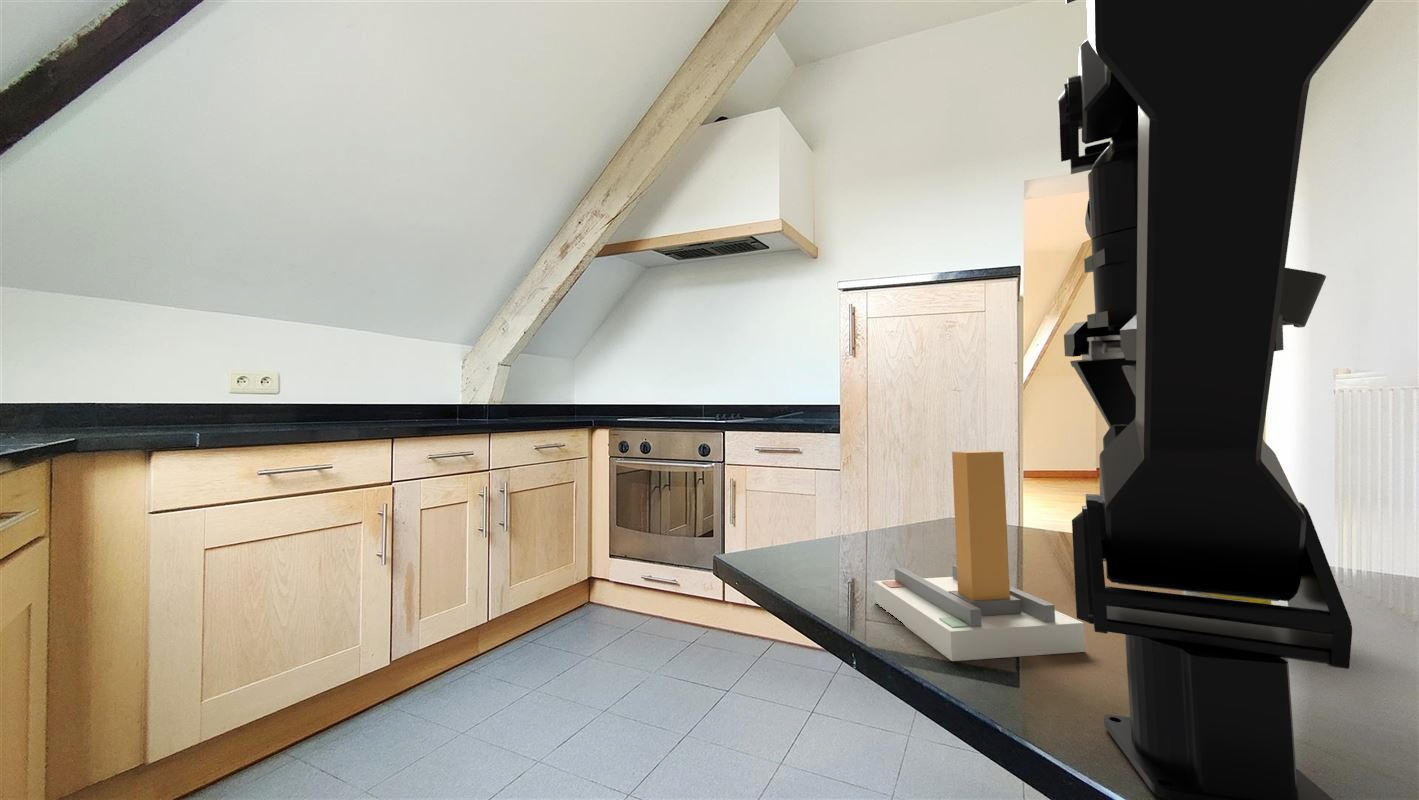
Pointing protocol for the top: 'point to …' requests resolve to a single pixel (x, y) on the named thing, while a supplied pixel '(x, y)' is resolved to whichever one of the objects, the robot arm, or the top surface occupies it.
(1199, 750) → the robot arm
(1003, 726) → the top surface
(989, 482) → the handle
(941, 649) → the plate
